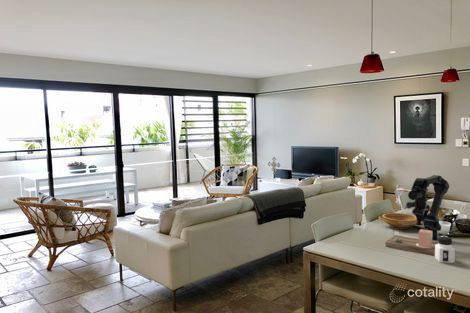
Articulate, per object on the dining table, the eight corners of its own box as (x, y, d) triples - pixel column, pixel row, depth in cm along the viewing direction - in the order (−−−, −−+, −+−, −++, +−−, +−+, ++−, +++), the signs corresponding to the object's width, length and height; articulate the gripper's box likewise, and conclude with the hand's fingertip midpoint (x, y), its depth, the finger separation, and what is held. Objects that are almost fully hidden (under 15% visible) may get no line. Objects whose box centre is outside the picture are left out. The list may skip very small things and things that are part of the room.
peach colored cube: (420, 242, 222) (420, 229, 221) (432, 244, 218) (432, 230, 217) (418, 245, 216) (418, 231, 216) (430, 247, 213) (430, 233, 212)
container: (454, 263, 197) (455, 239, 196) (439, 262, 198) (439, 238, 197) (449, 258, 204) (450, 235, 203) (434, 257, 206) (435, 234, 205)
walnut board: (394, 239, 240) (394, 231, 240) (442, 247, 222) (442, 239, 222) (385, 246, 226) (385, 238, 226) (436, 255, 208) (436, 246, 208)
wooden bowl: (379, 230, 263) (379, 219, 262) (377, 221, 286) (377, 211, 285) (425, 232, 254) (425, 221, 253) (419, 224, 277) (419, 213, 276)
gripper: (411, 194, 243) (411, 217, 244) (403, 199, 229) (403, 223, 230) (430, 196, 236) (429, 220, 237) (423, 201, 221) (422, 226, 223)
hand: (420, 222), depth 232 cm, fingers open, 9 cm apart
